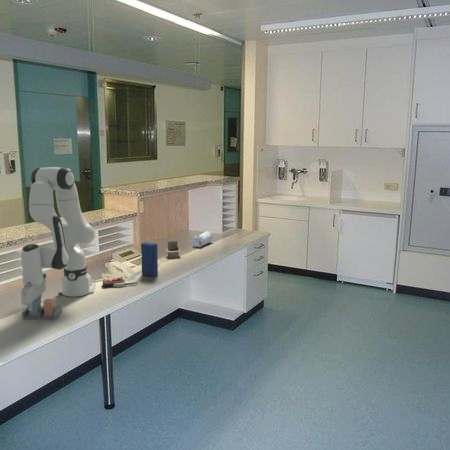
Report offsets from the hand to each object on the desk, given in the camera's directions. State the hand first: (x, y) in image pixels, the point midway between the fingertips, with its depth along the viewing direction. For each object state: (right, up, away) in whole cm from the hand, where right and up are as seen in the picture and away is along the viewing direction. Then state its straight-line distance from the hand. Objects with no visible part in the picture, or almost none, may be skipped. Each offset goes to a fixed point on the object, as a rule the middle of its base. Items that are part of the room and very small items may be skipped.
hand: (35, 306), depth 219 cm
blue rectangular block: (+44, +8, +65) cm, 79 cm away
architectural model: (+54, +16, +106) cm, 120 cm away
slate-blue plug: (0, -3, +1) cm, 3 cm away
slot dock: (+3, -4, +1) cm, 6 cm away
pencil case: (+73, +23, +141) cm, 160 cm away
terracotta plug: (+7, -3, +1) cm, 8 cm away
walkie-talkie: (+30, +4, +46) cm, 55 cm away
